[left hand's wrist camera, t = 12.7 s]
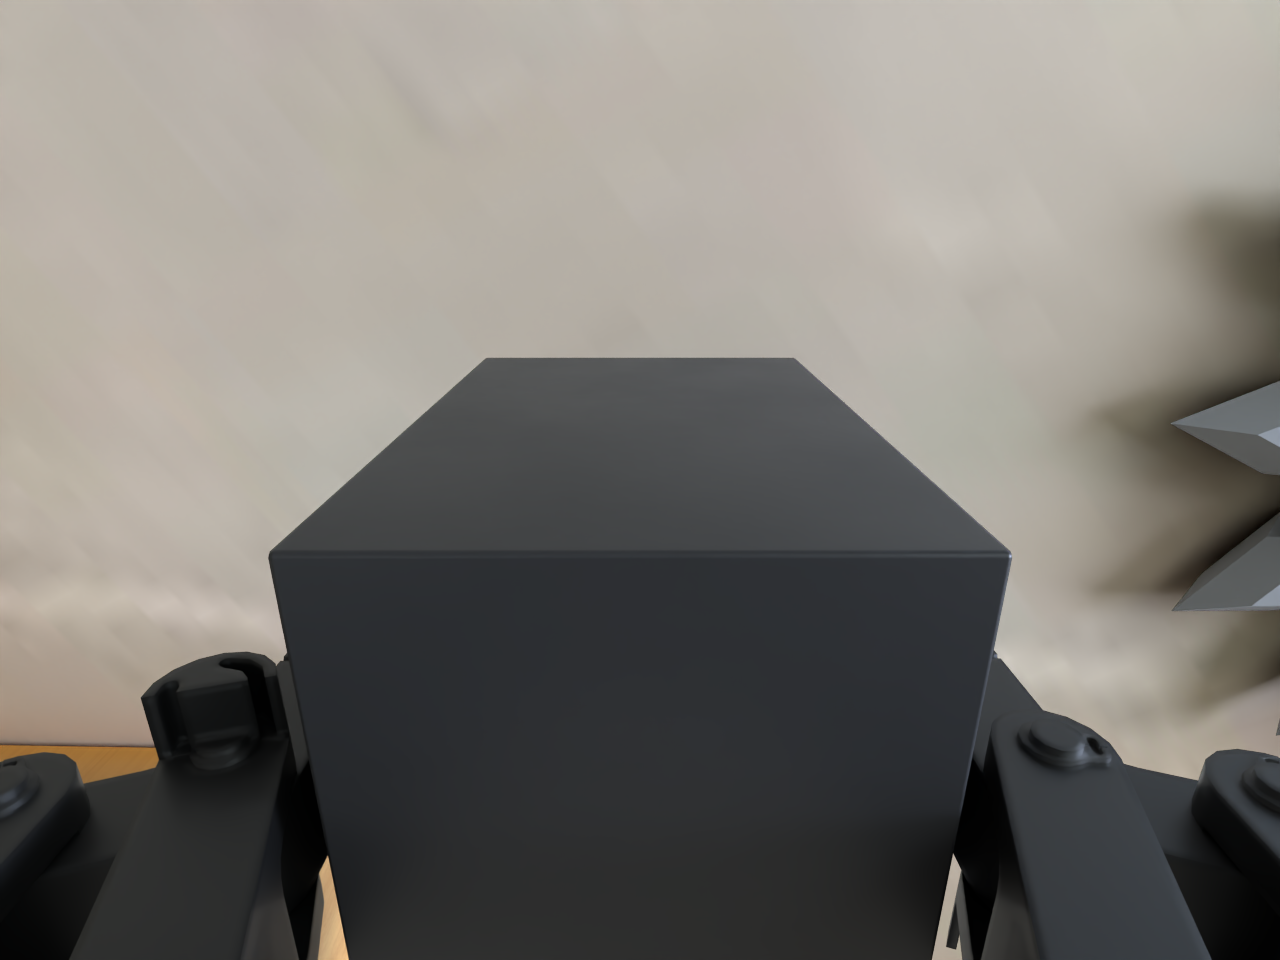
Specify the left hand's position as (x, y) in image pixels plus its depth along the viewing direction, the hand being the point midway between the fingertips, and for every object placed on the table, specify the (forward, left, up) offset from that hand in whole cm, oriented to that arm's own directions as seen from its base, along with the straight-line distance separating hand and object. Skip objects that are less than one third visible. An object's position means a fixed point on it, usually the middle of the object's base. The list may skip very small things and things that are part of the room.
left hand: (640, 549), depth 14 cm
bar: (+3, +8, 0) cm, 8 cm away
